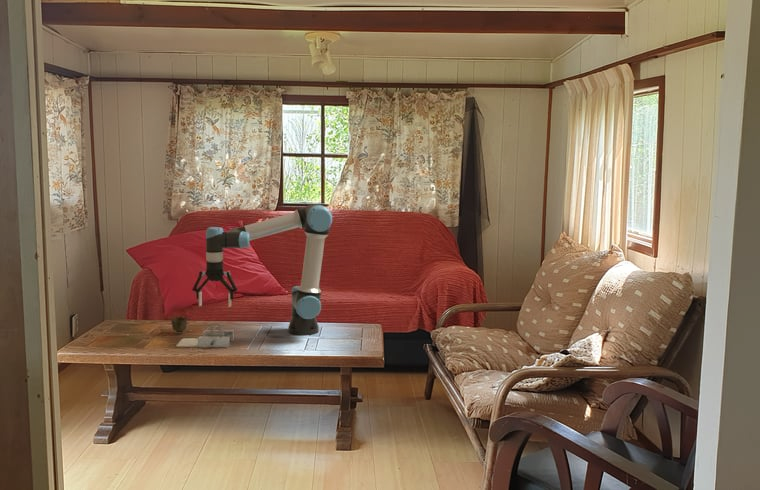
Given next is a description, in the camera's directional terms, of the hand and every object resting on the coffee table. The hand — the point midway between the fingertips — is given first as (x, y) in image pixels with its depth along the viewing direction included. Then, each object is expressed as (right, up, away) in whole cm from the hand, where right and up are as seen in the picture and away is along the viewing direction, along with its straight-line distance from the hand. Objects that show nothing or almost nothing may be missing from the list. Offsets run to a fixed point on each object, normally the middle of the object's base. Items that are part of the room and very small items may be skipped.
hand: (215, 306), depth 319 cm
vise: (0, -18, +1) cm, 18 cm away
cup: (-22, -15, +18) cm, 32 cm away
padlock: (0, -18, +3) cm, 18 cm away
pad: (-13, -17, +2) cm, 22 cm away
